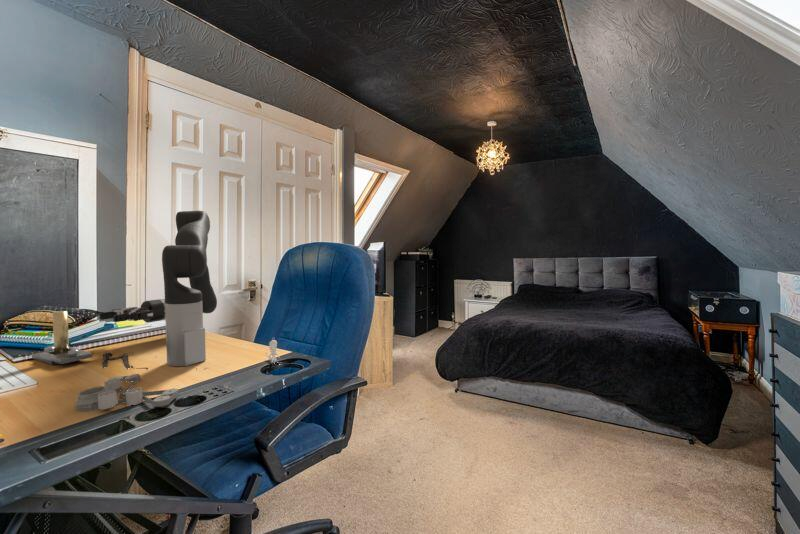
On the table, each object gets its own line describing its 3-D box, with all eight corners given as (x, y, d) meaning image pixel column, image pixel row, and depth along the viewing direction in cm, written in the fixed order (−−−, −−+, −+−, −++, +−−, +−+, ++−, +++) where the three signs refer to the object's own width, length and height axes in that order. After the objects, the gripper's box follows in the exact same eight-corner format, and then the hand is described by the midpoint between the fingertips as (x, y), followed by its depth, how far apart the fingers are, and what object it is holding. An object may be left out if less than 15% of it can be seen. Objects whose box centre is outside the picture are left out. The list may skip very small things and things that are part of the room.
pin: (71, 359, 109) (69, 311, 108) (57, 361, 106) (55, 313, 105) (66, 357, 110) (64, 310, 109) (52, 360, 107) (50, 312, 107)
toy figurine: (268, 367, 102) (267, 340, 102) (257, 361, 108) (256, 335, 108) (286, 363, 106) (286, 337, 105) (274, 357, 112) (274, 333, 111)
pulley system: (103, 434, 68) (188, 401, 80) (99, 409, 67) (185, 380, 80) (56, 403, 83) (134, 379, 96) (54, 383, 83) (131, 361, 95)
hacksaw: (103, 357, 112) (102, 352, 112) (144, 351, 118) (144, 346, 118) (99, 381, 93) (99, 375, 93) (149, 372, 99) (148, 367, 99)
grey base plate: (92, 361, 107) (92, 348, 106) (61, 368, 100) (60, 354, 100) (61, 352, 115) (61, 340, 115) (31, 358, 109) (30, 345, 109)
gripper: (147, 298, 135) (94, 304, 120) (171, 300, 128) (118, 307, 114) (148, 318, 135) (95, 327, 121) (172, 322, 129) (119, 331, 114)
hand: (106, 317), depth 117 cm, fingers open, 8 cm apart
